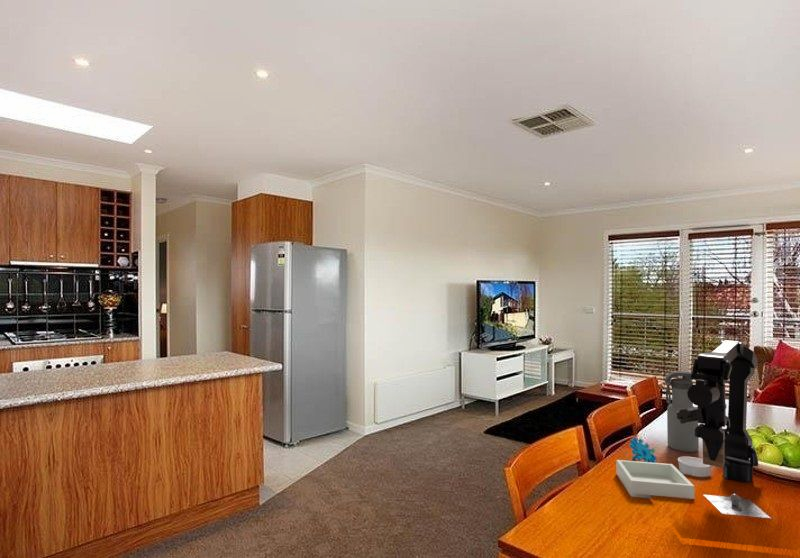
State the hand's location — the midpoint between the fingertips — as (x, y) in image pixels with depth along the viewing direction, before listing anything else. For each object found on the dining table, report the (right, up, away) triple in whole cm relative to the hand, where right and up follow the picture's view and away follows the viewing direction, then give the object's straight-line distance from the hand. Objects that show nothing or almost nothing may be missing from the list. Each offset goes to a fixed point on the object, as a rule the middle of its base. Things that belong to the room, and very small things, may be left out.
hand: (713, 457), depth 123 cm
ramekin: (+7, -13, +19) cm, 25 cm away
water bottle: (+19, -14, +43) cm, 49 cm away
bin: (-11, -13, +10) cm, 20 cm away
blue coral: (-3, -14, +29) cm, 32 cm away
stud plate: (+3, -12, -3) cm, 13 cm away
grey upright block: (0, -2, 0) cm, 2 cm away
